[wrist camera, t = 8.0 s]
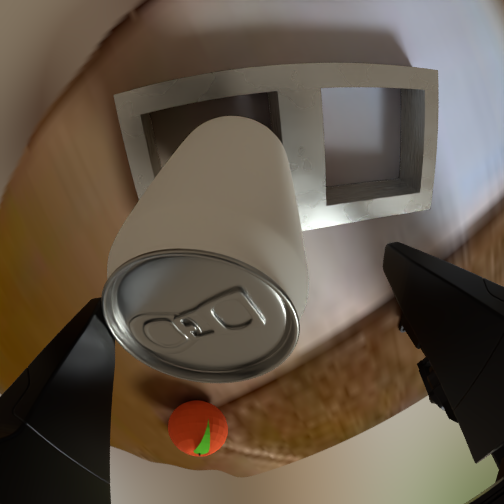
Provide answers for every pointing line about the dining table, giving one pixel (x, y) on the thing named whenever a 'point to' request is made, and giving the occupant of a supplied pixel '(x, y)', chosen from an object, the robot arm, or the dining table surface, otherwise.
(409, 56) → the dining table surface
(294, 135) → the grey compartment tray
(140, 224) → the can
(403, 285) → the robot arm
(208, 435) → the clementine
